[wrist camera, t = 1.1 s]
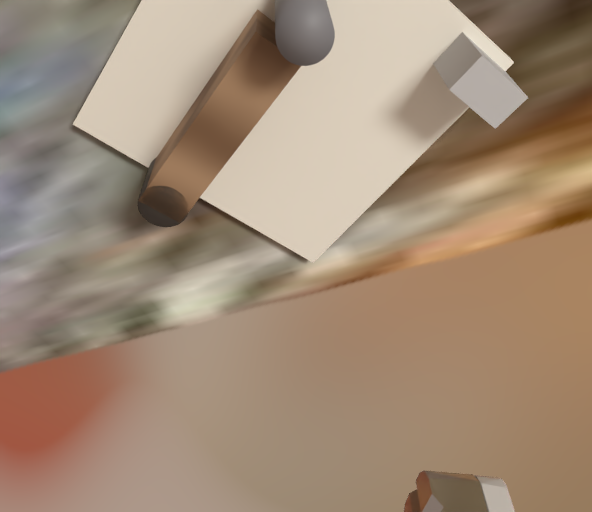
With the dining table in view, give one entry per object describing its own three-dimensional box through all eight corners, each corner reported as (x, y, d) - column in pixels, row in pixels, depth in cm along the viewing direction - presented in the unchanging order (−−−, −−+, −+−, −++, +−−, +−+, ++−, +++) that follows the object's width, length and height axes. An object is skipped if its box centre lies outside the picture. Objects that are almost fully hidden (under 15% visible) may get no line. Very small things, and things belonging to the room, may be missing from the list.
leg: (255, 8, 32) (254, 30, 29) (299, 42, 33) (302, 66, 30) (140, 178, 39) (128, 211, 36) (180, 201, 40) (172, 234, 37)
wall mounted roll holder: (76, 118, 37) (37, 181, 31) (247, -190, 27) (240, -188, 21) (312, 256, 45) (319, 327, 39) (509, 57, 35) (559, 110, 29)
